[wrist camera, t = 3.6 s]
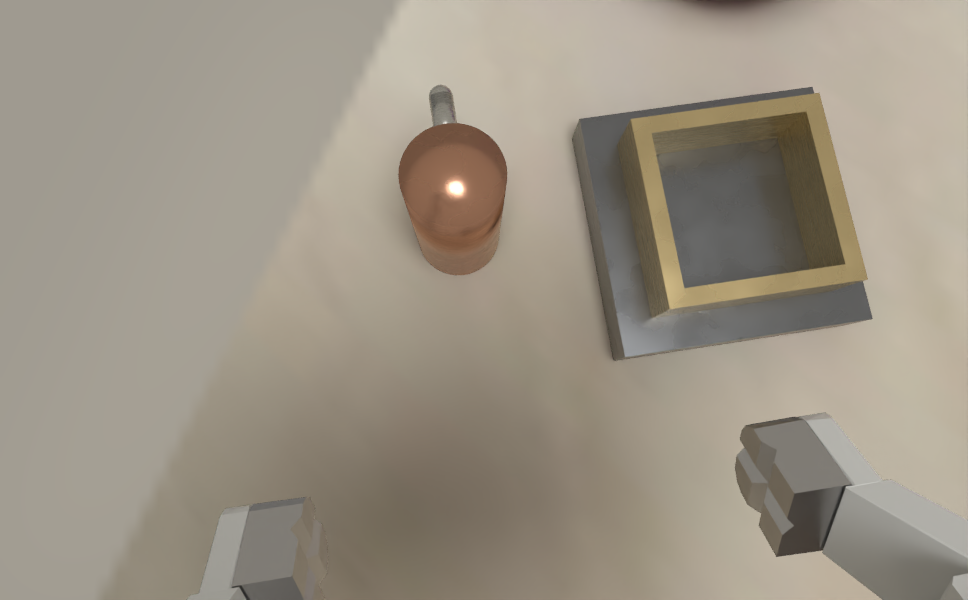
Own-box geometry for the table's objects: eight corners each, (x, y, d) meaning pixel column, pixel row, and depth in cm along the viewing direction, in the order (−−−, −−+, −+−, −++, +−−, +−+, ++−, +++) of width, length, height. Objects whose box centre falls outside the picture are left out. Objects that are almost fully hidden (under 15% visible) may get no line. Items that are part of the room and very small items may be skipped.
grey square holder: (613, 360, 40) (640, 351, 33) (572, 139, 42) (589, 90, 36) (843, 325, 40) (913, 309, 34) (788, 109, 43) (844, 56, 36)
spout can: (424, 280, 40) (406, 233, 30) (409, 169, 42) (385, 85, 31) (504, 268, 41) (515, 218, 30) (486, 158, 42) (490, 71, 31)
